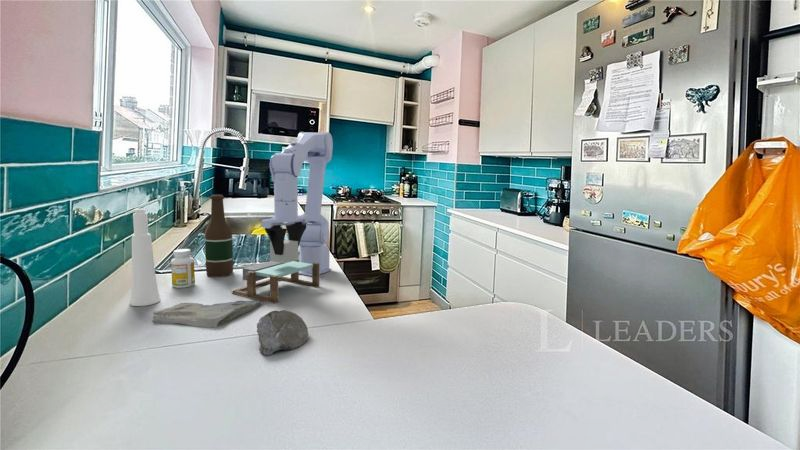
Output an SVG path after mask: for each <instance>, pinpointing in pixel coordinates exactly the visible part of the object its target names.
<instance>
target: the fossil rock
mask: <svg viewBox="0 0 800 450" xmlns="http://www.w3.org/2000/svg"><path fill="white" fill-rule="evenodd" d="M262 302H263V301H262V300H236V301H230V302H222V303H221V302H220V303H214V304H213V303H212V304H202V303H197V302H180V303H177V304H174V305H173V306H170V307H167V308H163V309H161V310H158V311H153V312H152V314H153V315H152V318H153V321H154V323H159V324H180V325H181V324H182V325H189V326H193V327H195V326H196V327H210V328H211V327H212V328H217V327H219V326H221V325H222V324H225V323H227V322H230V321H232V320H233V319H235V318H237V317H239V316H242V315H245V314H247V313H248V312H251V311H252V310H254V309H255V308H257V307H258V306H261V305H262Z"/></svg>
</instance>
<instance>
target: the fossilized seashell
mask: <svg viewBox="0 0 800 450" xmlns="http://www.w3.org/2000/svg"><path fill="white" fill-rule="evenodd" d="M308 330H309V329H308V325H307V324H306V322H305V321H304V320H303V318H302V317H301V316H299V315H298V314H297V313H296V312H293V311H291V310H287V309H281V310H272V311H270V312H268V313H266V314H264V315H263V316H262V317H260V318H259V320H258V322H257V323H256V333H257V336H258V341H259V344H260V346H259V348H258V350H259V352H260V353H262V354H263V355H265V356H270V355H273V354H274V353H275V352H278V351H292V350H291V349H293V350H295V348H296V349H297V347H298V348H300V347H301V346H303V345H304V344H306V342H307V340H308V338H309V331H308Z"/></svg>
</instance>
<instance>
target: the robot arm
mask: <svg viewBox="0 0 800 450" xmlns="http://www.w3.org/2000/svg"><path fill="white" fill-rule="evenodd" d="M289 143H290V144H289V145H288V146H286V148H284V149H283V150H282V152H275V153H274V154H273V155H271V157H270V160H269V171H270V173H271V181H272V182H273V189H274V190H273V194H274V195H273V197H274V198H273V200H274V202H273V203H274V205H273V206H274V211H273V212H274V216H272V217H271V218H266V219H261V228H262V229H264V231H265V232H266V234H267V236H268V237H269V240H270V242H271V243H272V246H273V249H274V253H275V254H276V255H283V249H284V239H285V237H286V235H288V240H294V241H298V248H299V262H303V263H309V264H312V263H319V275H321V274H324V273H327V272H330V271H332V270H331V269H332V268H331V267H330V248H329V247H328V245H327V242H328V240H329V235H330V233H329V232H330V229H329V225H330V223H329V221H328V219H327V218H326V217H325V216H323V215H322V205H323V203H322V202H323V193H324V182H325V175H326V174H325V172H326V167H327V164H329V162H331V160H332V157H333V148H334V143H333V136H332V134H331V133H330V132H328V131H327V132H313V131H311V132H310V131H309V132H307V131H306V132H304V131H300V132H299V133H298V134H297V138H296V141H291V142H289ZM305 162H306V163H308V164H309V172H308V180H307V181H308V183H307V190H306V201H305V210H304V212H303V213H302V214H300V215H299V214H298V213H299V212H298V211H299V210H298V202H299V201H298V176H300V175H301V173H302V168H303V163H305ZM283 226H284V227H285V228H283ZM286 233H287V234H286ZM329 270H330V271H329ZM299 275H304V276H311V277H312V268H308V269H305V270H302V271H299Z"/></svg>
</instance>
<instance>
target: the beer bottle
mask: <svg viewBox="0 0 800 450" xmlns="http://www.w3.org/2000/svg"><path fill="white" fill-rule="evenodd" d="M210 199H211V204H210V205H211V206H210V207H211V211H210V221H209V223H208V225H207V226H206V228H205V232H204V252H205V254H204V255H205V271H206V275H207V276H208V277H213V278H219V277H227V276H230V275H233V273H234V254H233V252H234V249H233V246H234V245H233V234H232V229H231V227H230V226H229V224H228V223H227V222H226V221H227V220H226V218H225V207H224V199H225V197H224V195H223V194H211V196H210Z"/></svg>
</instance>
